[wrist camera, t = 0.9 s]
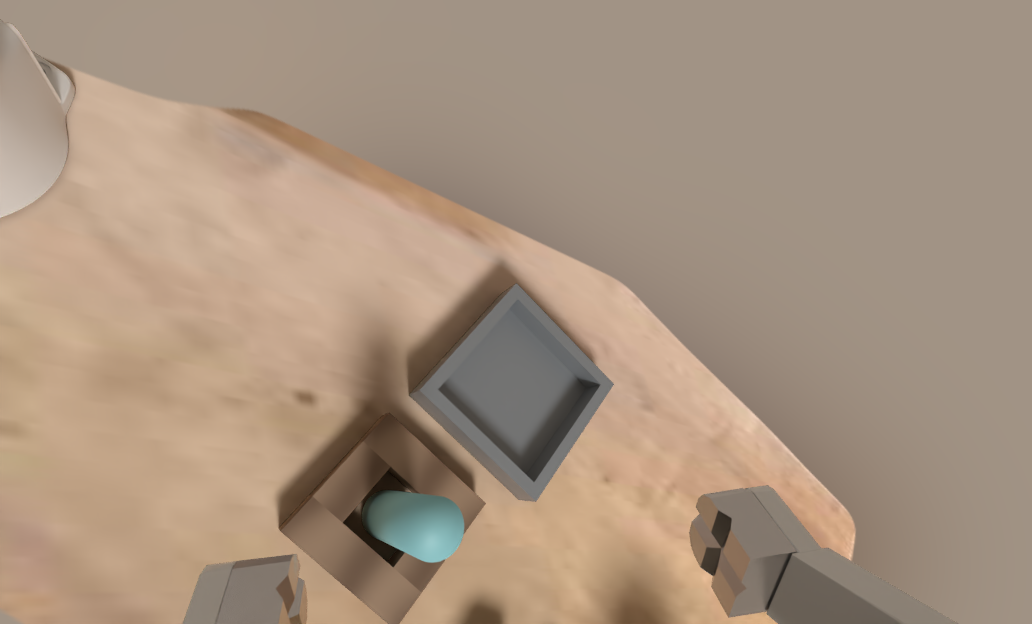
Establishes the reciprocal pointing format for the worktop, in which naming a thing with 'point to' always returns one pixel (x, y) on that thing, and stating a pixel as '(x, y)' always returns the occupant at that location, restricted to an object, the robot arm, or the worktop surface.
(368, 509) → the dowel
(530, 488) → the tray
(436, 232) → the worktop surface
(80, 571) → the worktop surface
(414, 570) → the socket block
